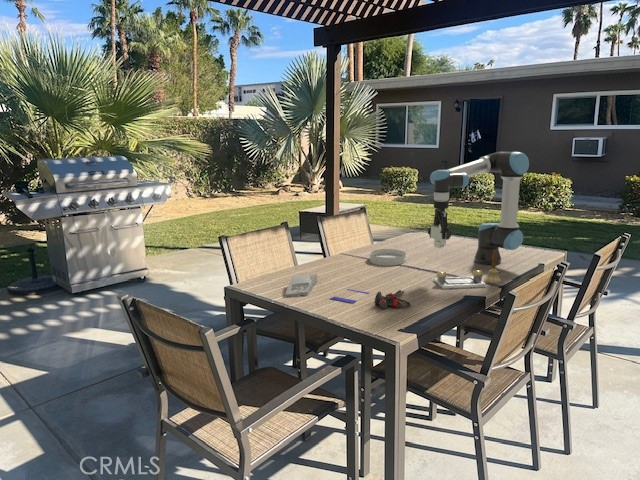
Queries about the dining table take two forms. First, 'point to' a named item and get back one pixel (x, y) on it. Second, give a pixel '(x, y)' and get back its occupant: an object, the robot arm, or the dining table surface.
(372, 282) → the dining table surface
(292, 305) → the dining table surface
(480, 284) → the plate
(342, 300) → the flat strips
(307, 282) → the ramp
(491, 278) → the hand bell
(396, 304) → the grey red jointed piece
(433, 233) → the pneumatic valve
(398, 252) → the dish
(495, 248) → the robot arm
